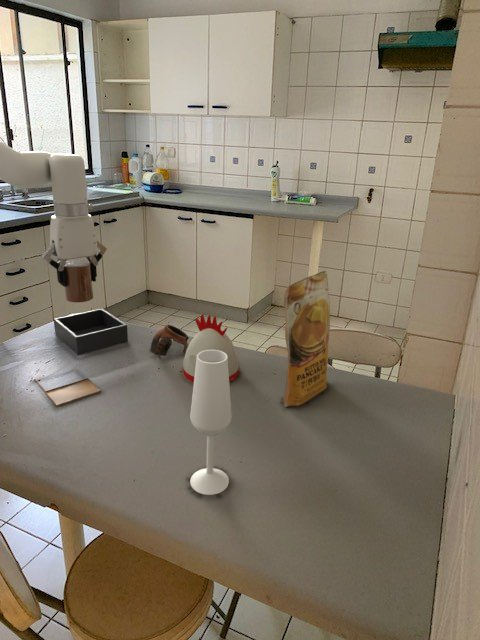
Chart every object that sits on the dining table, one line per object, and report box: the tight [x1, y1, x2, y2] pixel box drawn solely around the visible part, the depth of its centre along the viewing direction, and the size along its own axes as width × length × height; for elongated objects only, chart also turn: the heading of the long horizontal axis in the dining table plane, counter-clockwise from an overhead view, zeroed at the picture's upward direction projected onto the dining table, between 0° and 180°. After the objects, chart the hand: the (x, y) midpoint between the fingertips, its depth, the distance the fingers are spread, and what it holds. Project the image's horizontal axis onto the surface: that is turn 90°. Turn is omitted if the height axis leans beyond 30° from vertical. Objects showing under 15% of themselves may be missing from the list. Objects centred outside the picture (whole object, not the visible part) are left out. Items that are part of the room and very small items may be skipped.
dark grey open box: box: [53, 308, 129, 356], centre depth 129 cm, size 15×14×6 cm
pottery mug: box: [149, 324, 190, 357], centre depth 123 cm, size 12×10×8 cm
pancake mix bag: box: [282, 270, 331, 408], centre depth 103 cm, size 7×19×28 cm, turn 137°
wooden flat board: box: [33, 378, 102, 408], centre depth 107 cm, size 14×10×1 cm
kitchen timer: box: [182, 314, 240, 383], centre depth 113 cm, size 14×14×15 cm
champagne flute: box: [189, 350, 233, 496], centre depth 75 cm, size 7×7×24 cm
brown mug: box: [64, 259, 94, 303], centre depth 114 cm, size 9×7×9 cm
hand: (78, 282), depth 115 cm, fingers closed on brown mug, 6 cm apart
